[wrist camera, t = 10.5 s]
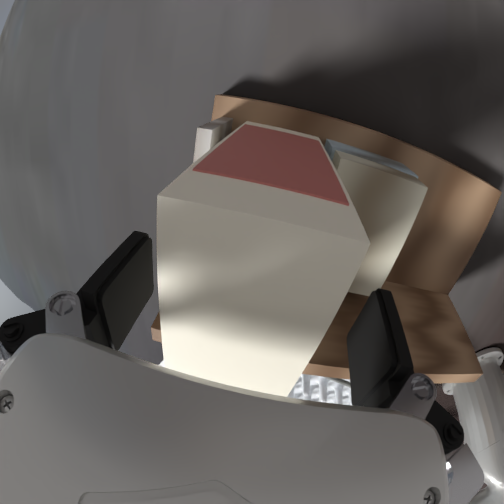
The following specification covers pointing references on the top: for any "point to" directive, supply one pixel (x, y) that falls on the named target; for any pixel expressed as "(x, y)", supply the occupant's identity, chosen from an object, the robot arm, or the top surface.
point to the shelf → (417, 255)
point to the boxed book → (254, 258)
